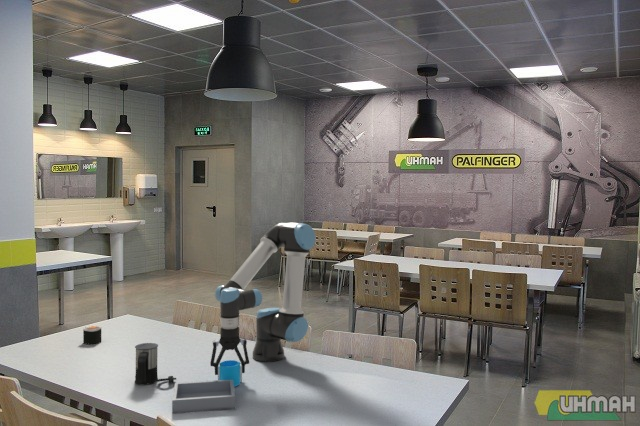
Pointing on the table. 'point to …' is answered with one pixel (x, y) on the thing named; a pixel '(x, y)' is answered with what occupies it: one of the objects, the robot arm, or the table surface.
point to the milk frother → (147, 364)
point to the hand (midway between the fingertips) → (229, 381)
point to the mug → (230, 371)
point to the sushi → (92, 335)
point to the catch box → (203, 396)
